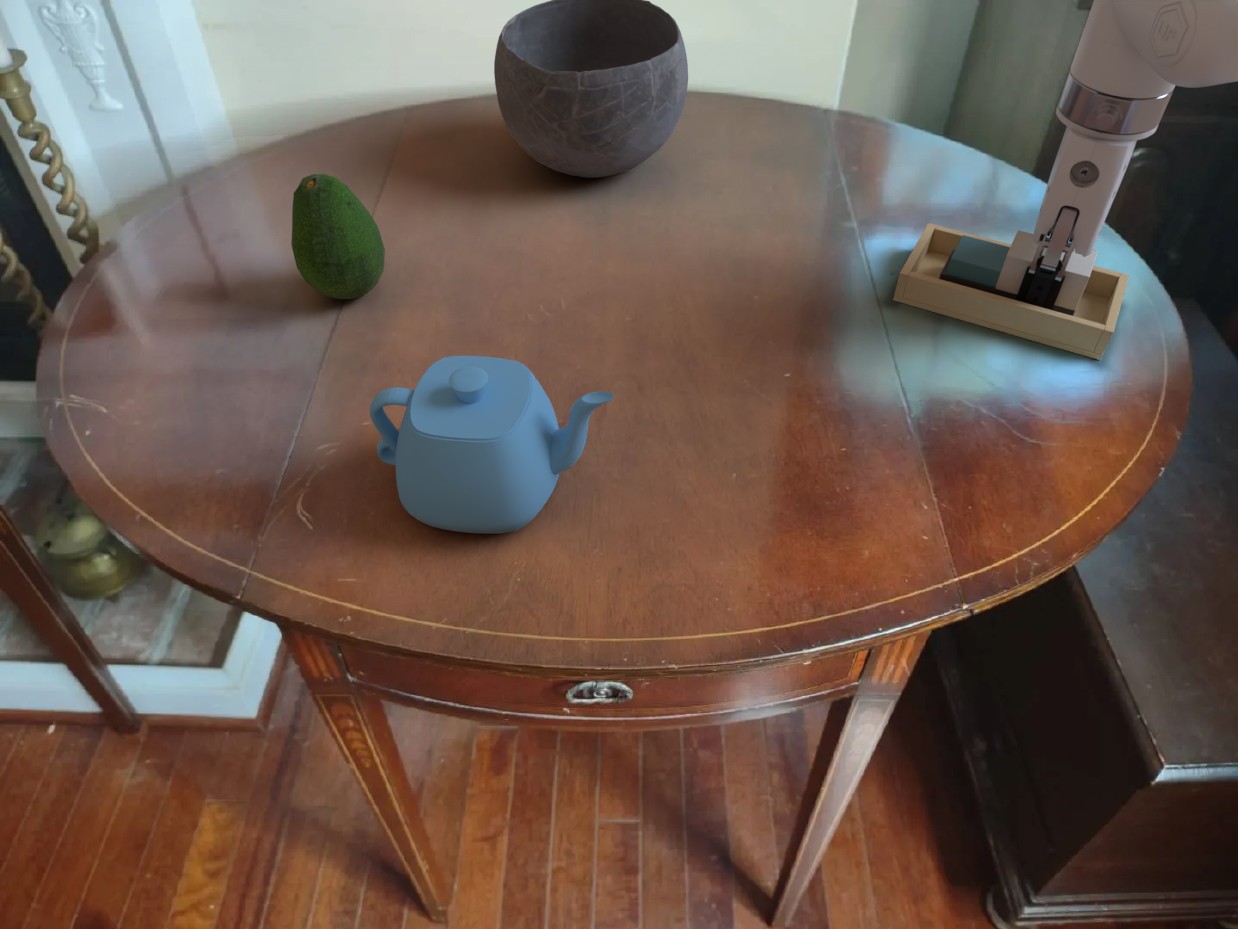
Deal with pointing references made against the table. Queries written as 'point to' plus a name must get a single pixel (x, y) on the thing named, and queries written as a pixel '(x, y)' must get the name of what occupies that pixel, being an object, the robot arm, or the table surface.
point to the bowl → (591, 83)
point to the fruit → (335, 239)
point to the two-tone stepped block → (1013, 269)
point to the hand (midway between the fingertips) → (1038, 292)
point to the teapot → (479, 443)
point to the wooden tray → (1010, 316)
